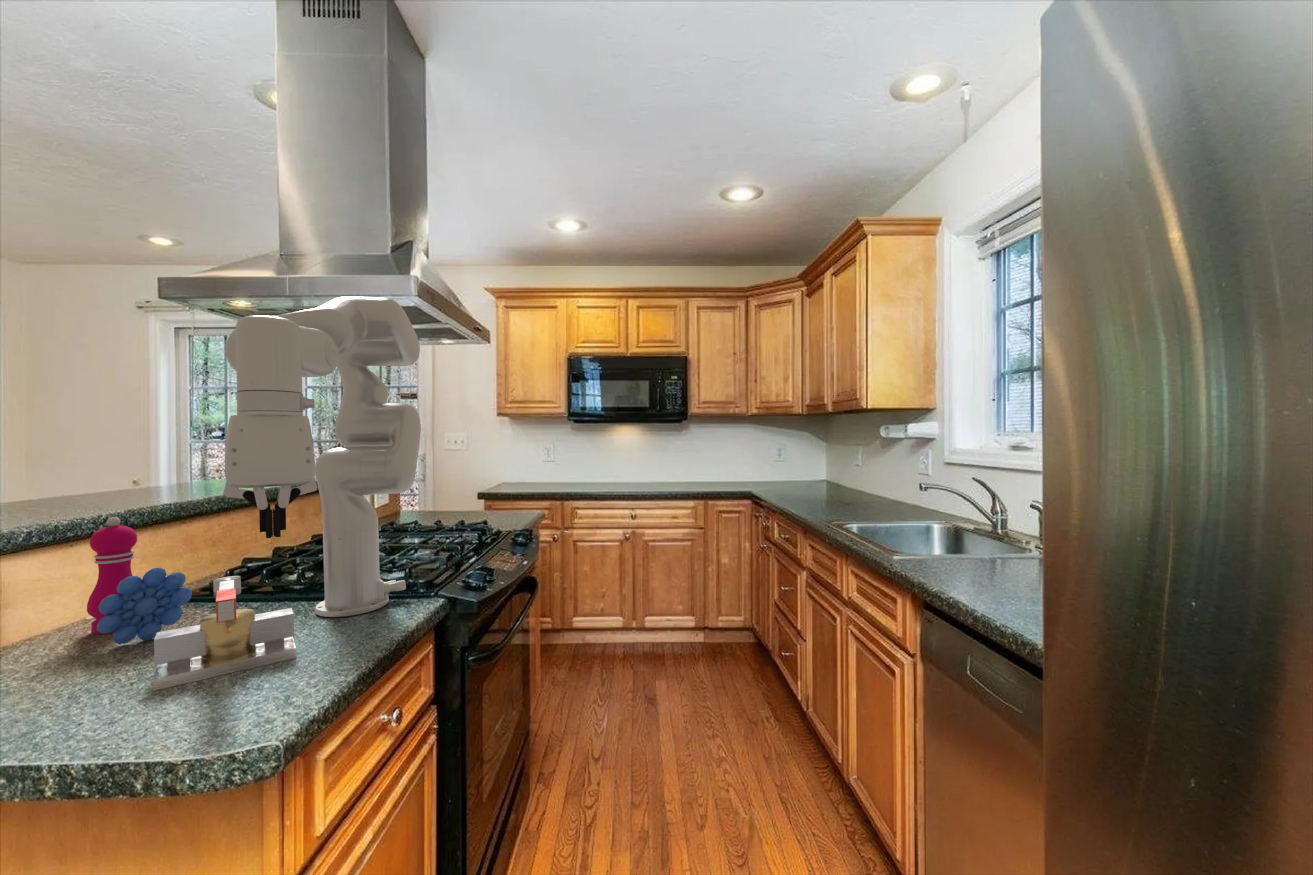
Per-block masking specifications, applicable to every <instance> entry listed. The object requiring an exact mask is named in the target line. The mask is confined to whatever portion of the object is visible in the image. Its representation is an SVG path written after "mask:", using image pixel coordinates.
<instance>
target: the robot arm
mask: <svg viewBox="0 0 1313 875" xmlns="http://www.w3.org/2000/svg"><path fill="white" fill-rule="evenodd" d="M420 354H421V348H420V341H419V338H418V335H417V333H416V331H415V329H414V327H413V325H412V323H411V320H410V318H409V317H408V315H407V313H406V311H405V310H404V309H403V307H402V306H401V305H400V304H399V303H398V302H397V301H395V300H394V299H393V298H389V297H372V296H340V297H335V298H333V299H331V300H329V301H327V302H325V303H323V304H322V305H319V306H317V307H314V308H309V309H303V310H299V311H298V310H297V311H292V312H289V313H288V312H287V313H282V314H276V315H247V316H242V317H241V318H240V319H238V320H237V322H236V324H235V329H234V330H232V332H230V334H229V335H228V338H227V340H226V342H225V355H226V359H227V362H228V364H229V365H230V366H231V368H232V369H234V370H235V371H236V374H235V375H236V414H235V415H233V414H232V415H230V417H229V421H228V425H227V431H226V440H225V457H224V458H225V461H224V462H225V463H224V464H225V465H224V467H225V468H224V472H225V479H226V482H225V486H224V489H223V496H224V497H227V498H234V499H242V500H246V501H247V502H249V503H251V504H252V505H253V506H255V508H257V509H258V510H259V533H265V537H266V539H271V538H273V537H275V538H281V537H282V534H281V531H287V507H288V506H289V505H290V504H291V503H292V502H293V501H295V500H296V498H298V496H302V495H305V494H308V493H312V492H316V491H317V490H318V492H319V493H318V494H319V497H320V503H321V518H322V537H323V538H322V545H323V546H322V547H323V549H322V550H323V581H324V582H323V586H324V587H323V588H324V600H323V601H320V602H318V603H317V604H316V605H315V606H314V607H315V609H314V611H315V614H316V615H317V616H320V617H325V618H343V617H351V616H357V615H362V614H367V613H370V612H374V611H376V610H378V609H381V608H383V607H384V606H386V605H387V604H388V603H389V602H390V599H389V594H390V593H391V592H399V591H404V590H406V589H407V583H406V582H407V581H405V579H402V580H397V581H396V579H393V580H388V581H384V580H383V579H381V577H380V574H381V573H380V545H379V544H380V543H379V542H380V540H379V539H380V538H379V537H380V536H379V517H378V514H377V513H378V512H377V511H376V509H375V508H374V507H373V504H371V502H369V500H368V499H367V498H366V497H365V496H369V495H390V494H391V495H392V494H401V493H406V492H408V491H409V490H410V489H411V488H412V486H413V484H414V481H415V480H416V479H415V477H416V472H417V466H418V464H417V463H418V457H419V451H420V450H419V449H420V441H421V432H422V431H421V430H422V428H421V426H422V424H421V420H420V419H421V418H420V415H419V413H418V410H417V409H416V408H415V407H414V406H412V404H411V405H410V404H409V403H404V402H402V403H401V402H388V398H389V390H388V387H387V386H386V384H385V383H384V382H383V381H382V379H381V378H380V377H379V376H378V375H376V374H375V373H374V371H371V370H370V368H369V367H408V366H413V365H414V364H415V363H416V362H417V361H418V359H419V357H420ZM336 368H337V370H338V372H339V376H340V378H341V381H342V385H343V393H342V396H341V400H340V404H339V409H338V412H337V417H336V422H335V430H334V435H335V438H336V440H337V442H338V443H339V445H341V446H339V447H335V448H330V449H327V450H325V451H323V452H322V453H320V455H319V456H318V457H317V459H316V458H315V447H314V439H313V434H312V426H311V423H310V419H309V416H308V415H304V414H303V413H304V411H306V410H309V409H315V399H314V398H308V397H306V396H304V394H303V378H319V377H324V376H327V375H329V374H331V373H332V372H333V371H335V370H336ZM315 460H316V461H315ZM292 486H294V487H292ZM269 487H279V488H278V492H277V493H278V494H277V500H276V501H275V503H274V507H272V508H271V504H270V503H269V502H268V500H267V494H266V489H265V488H269ZM248 488H249V489H248ZM250 488H252V490H253V491H252V490H250Z"/></svg>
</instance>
